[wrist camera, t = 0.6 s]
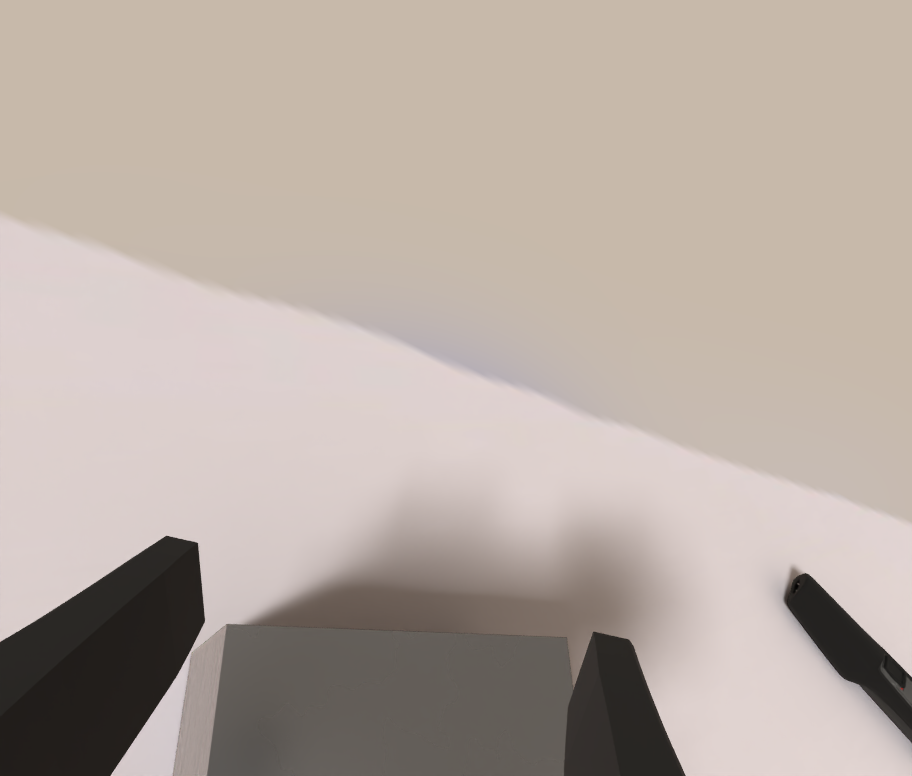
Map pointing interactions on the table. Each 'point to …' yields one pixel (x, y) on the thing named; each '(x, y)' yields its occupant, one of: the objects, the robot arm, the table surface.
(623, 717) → the robot arm
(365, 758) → the grey bridge block
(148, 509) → the table surface
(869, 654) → the electric trimmer
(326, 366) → the table surface
